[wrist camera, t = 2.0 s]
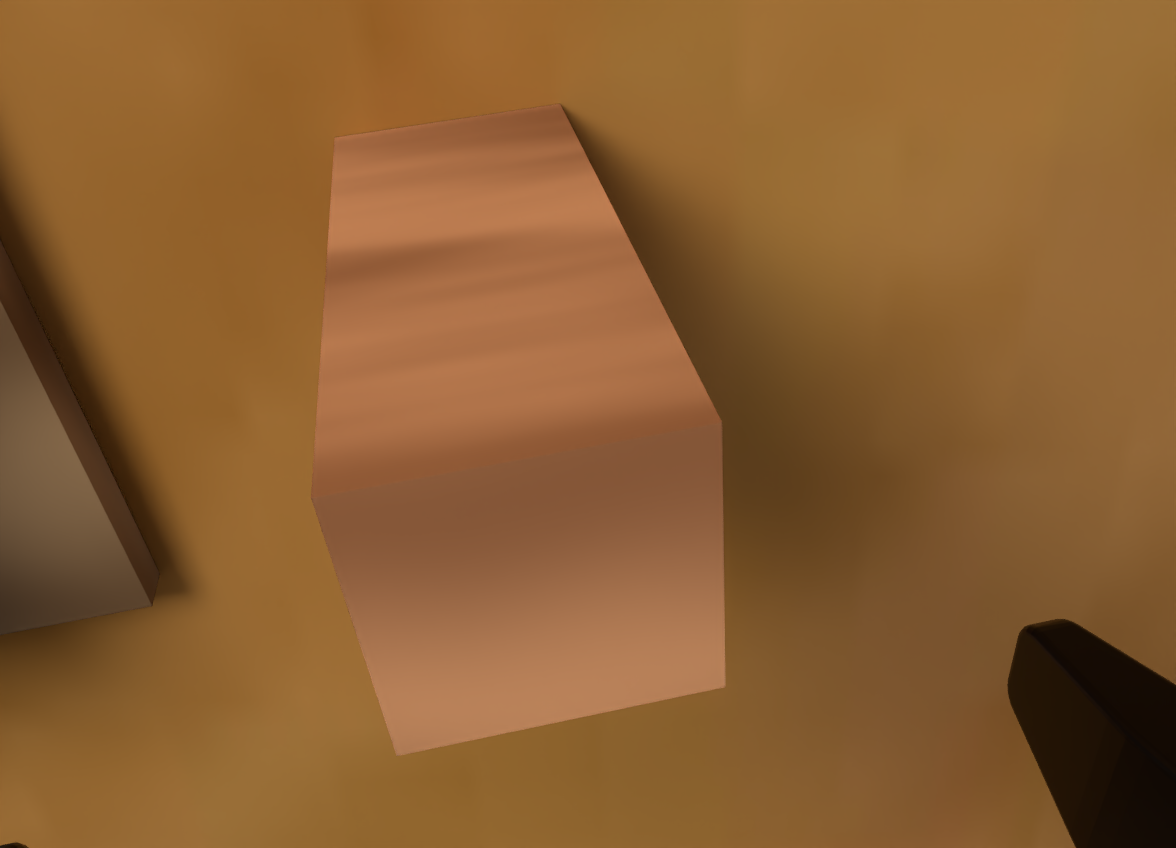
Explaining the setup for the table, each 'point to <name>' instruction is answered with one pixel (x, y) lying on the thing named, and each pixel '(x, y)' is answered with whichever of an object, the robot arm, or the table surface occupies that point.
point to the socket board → (56, 491)
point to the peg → (509, 438)
